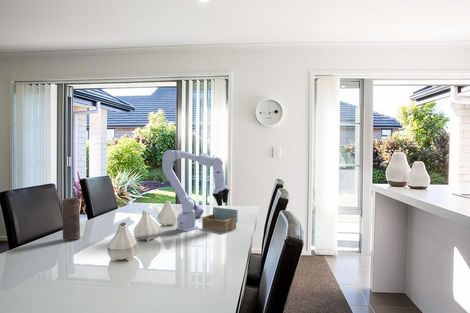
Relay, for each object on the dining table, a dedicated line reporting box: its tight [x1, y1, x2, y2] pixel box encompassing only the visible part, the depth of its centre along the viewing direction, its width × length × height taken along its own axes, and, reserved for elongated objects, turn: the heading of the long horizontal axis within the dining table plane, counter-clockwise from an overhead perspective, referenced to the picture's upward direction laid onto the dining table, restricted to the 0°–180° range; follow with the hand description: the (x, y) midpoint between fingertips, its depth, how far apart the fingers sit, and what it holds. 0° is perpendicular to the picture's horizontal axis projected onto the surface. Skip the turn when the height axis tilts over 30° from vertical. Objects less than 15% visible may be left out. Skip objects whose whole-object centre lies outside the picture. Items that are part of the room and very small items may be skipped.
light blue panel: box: [212, 206, 239, 224], centre depth 171 cm, size 1×16×7 cm, turn 56°
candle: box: [61, 197, 81, 241], centre depth 147 cm, size 8×7×20 cm
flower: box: [193, 204, 204, 219], centre depth 192 cm, size 9×9×10 cm
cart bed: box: [201, 213, 237, 233], centre depth 166 cm, size 9×16×6 cm, turn 56°
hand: (222, 204), depth 168 cm, fingers open, 7 cm apart
